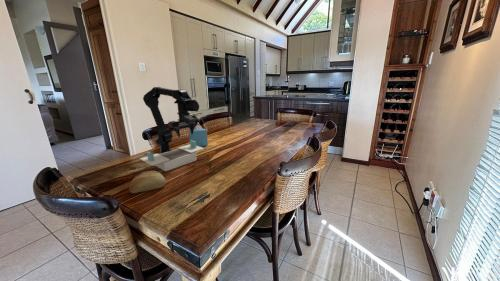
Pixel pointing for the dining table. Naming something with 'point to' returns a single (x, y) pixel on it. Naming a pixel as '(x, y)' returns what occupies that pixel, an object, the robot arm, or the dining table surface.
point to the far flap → (191, 147)
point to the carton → (176, 159)
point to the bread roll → (147, 181)
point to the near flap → (154, 158)
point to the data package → (199, 137)
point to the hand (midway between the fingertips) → (185, 135)
